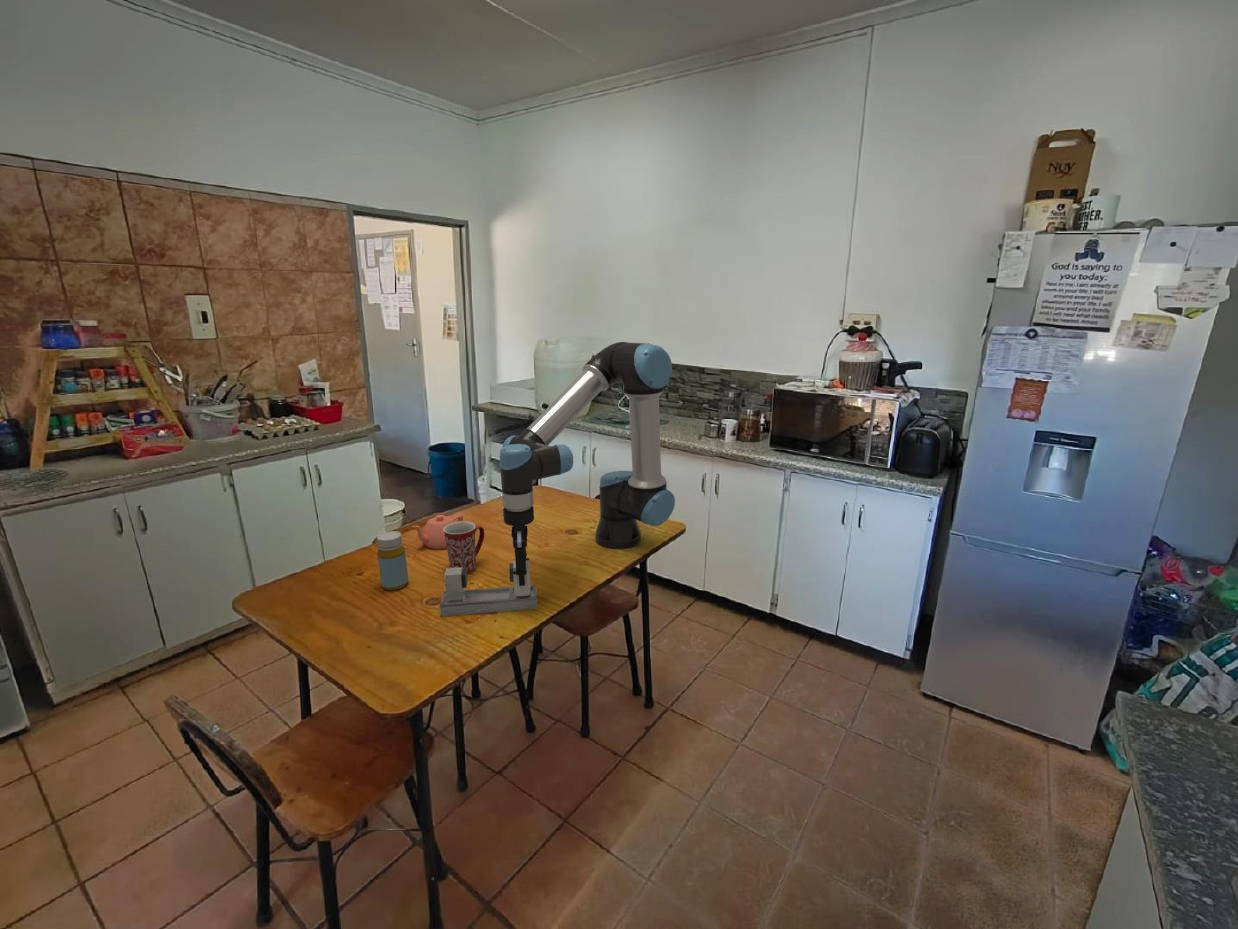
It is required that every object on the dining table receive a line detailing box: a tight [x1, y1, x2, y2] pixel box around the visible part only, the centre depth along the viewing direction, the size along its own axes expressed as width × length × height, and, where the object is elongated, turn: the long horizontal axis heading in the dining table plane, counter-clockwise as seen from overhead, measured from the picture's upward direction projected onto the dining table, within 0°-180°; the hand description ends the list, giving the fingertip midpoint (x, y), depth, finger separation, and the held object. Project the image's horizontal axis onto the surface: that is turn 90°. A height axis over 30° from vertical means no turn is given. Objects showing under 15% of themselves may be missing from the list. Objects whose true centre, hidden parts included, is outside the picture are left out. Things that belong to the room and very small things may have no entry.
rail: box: [439, 567, 538, 617], centre depth 143 cm, size 24×7×10 cm, turn 99°
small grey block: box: [508, 559, 531, 596], centre depth 144 cm, size 5×4×8 cm
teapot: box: [411, 514, 464, 550], centre depth 181 cm, size 12×18×10 cm
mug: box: [443, 521, 485, 575], centre depth 164 cm, size 13×9×14 cm
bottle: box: [376, 530, 409, 592], centre depth 153 cm, size 7×7×15 cm
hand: (522, 590), depth 145 cm, fingers closed on small grey block, 4 cm apart
